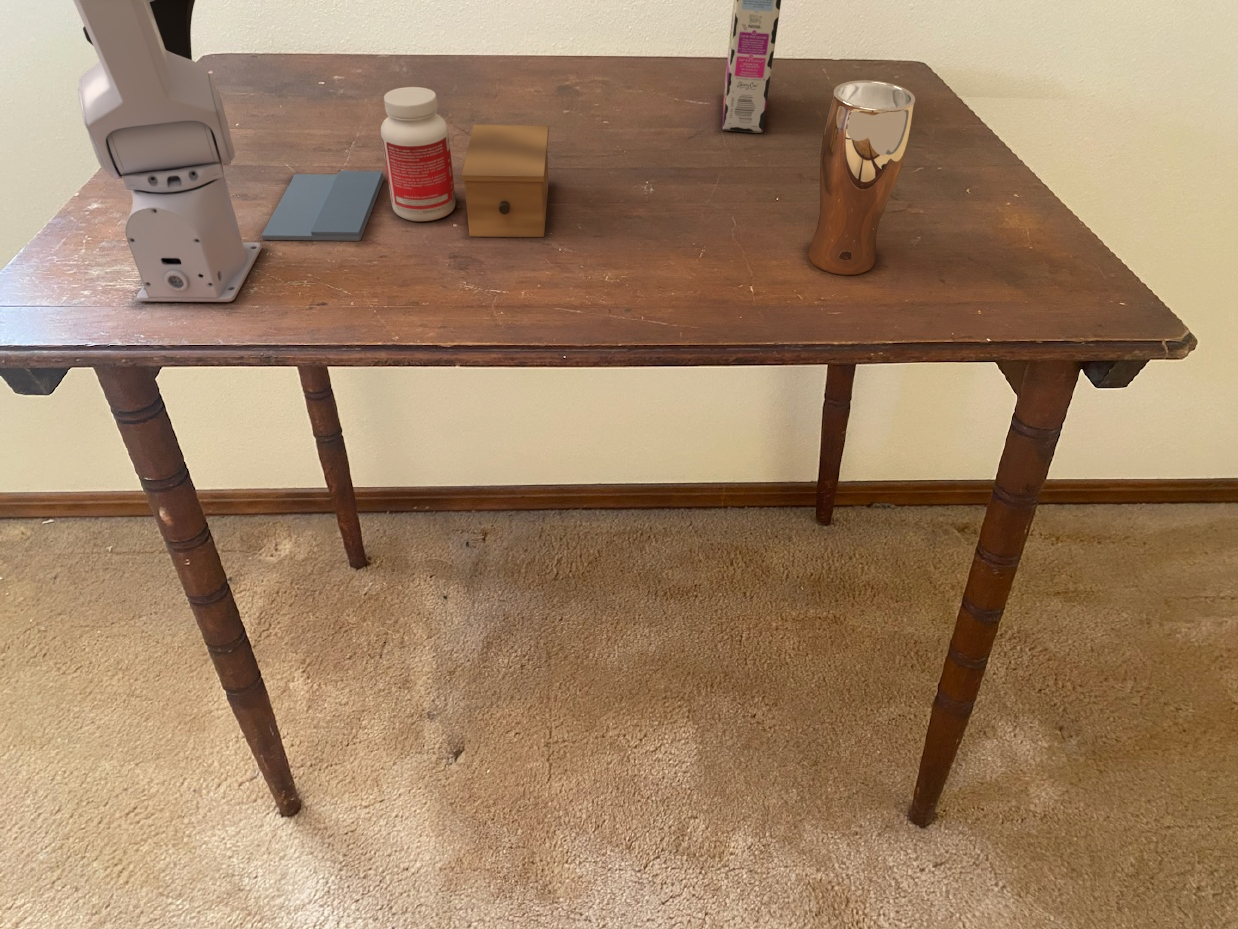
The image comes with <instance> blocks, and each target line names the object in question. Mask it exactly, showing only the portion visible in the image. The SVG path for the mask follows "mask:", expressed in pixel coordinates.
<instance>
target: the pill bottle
mask: <svg viewBox="0 0 1238 929" xmlns="http://www.w3.org/2000/svg"><path fill="white" fill-rule="evenodd" d="M383 101H384V111H385V113H386V115H387V116H388V117H386V118H385V119H384V120H383V121H382V123H381V126H380V137H381V138H380V139H381V144H382V149H383V150H382V151H383V156H384V162H385V163H384V164H385V168H386V175H387V183H388V188H389V195H390V201H391V202H390V203H391V206H392V211H393V212H394V213H395V214H396V215H397V216H399V217H400V218H402V219H404V220H407V221H410V222H430V221H436V220H439V219H442V218H444V217H446V216H448V215H450V214H451V213H452V212H453V211H454V209H455V207H456V190H455V182H454V171H453V162H452V153H451V144H450V135H449V128H448V124H447V122H446V121H445V119H444V117H442V116H441V115H440V114H437V113H438V108H439V104H438V98H437V94H436V92H435V91H434V90H432V89H429V88H426V87H419V86H406V87H399V88H398V87H397V88H394V89H391V90H389V91H387V92H386V93H385V94H384V96H383Z"/></svg>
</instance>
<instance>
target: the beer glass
mask: <svg viewBox="0 0 1238 929" xmlns="http://www.w3.org/2000/svg"><path fill="white" fill-rule="evenodd" d="M915 102H916V96H915V95H914V94H913V93H912V92H911V91H910V90H908V89H907V88H905V87H902V86H900V85H897V84H893V83H891V82H886V81H880V80H870V79H869V80H868V79H867V80H866V79H865V80H862V79H861V80H851V81H846V82H843V83H840V84H838V85H837V86H836V87H834V89H833V93H832V99H831V103H830V107H829V110H828V114H827V118H826V123H825V127H824V131H823V136H822V143H821V150H820V160H819V161H820V162H819V213H818V214H819V216H818V222H817V226H816V229H815V232H814V235H813V237H812V240H811V243H810V246H809V249H808V253H807V254H808V259H809V261H810V262H811V263H812V264H813V265H814V266H815V267H816V268H819V269H820V270H822V271H825V272H827V273H831V274H834V275H841V276H855V275H861V274H864V273H866V272H868V271H870V270H871V269H873V267H874V265H875V263H876V259H877V258H876V257H877V256H876V255H877V236H878V229H879V225H880V222H881V219H882V216H883V213H884V212H885V209H886V207H887V203H888V202H889V200H890V197H891V195H892V192H893V190H894V188H895V186H896V183H897V181H898V178H899V176H900V172H901V170H902V167H903V164H904V160H905V156H906V153H907V149H908V144H909V138H910V133H911V128H912V120H913V112H914V108H915V107H914V106H915Z"/></svg>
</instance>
